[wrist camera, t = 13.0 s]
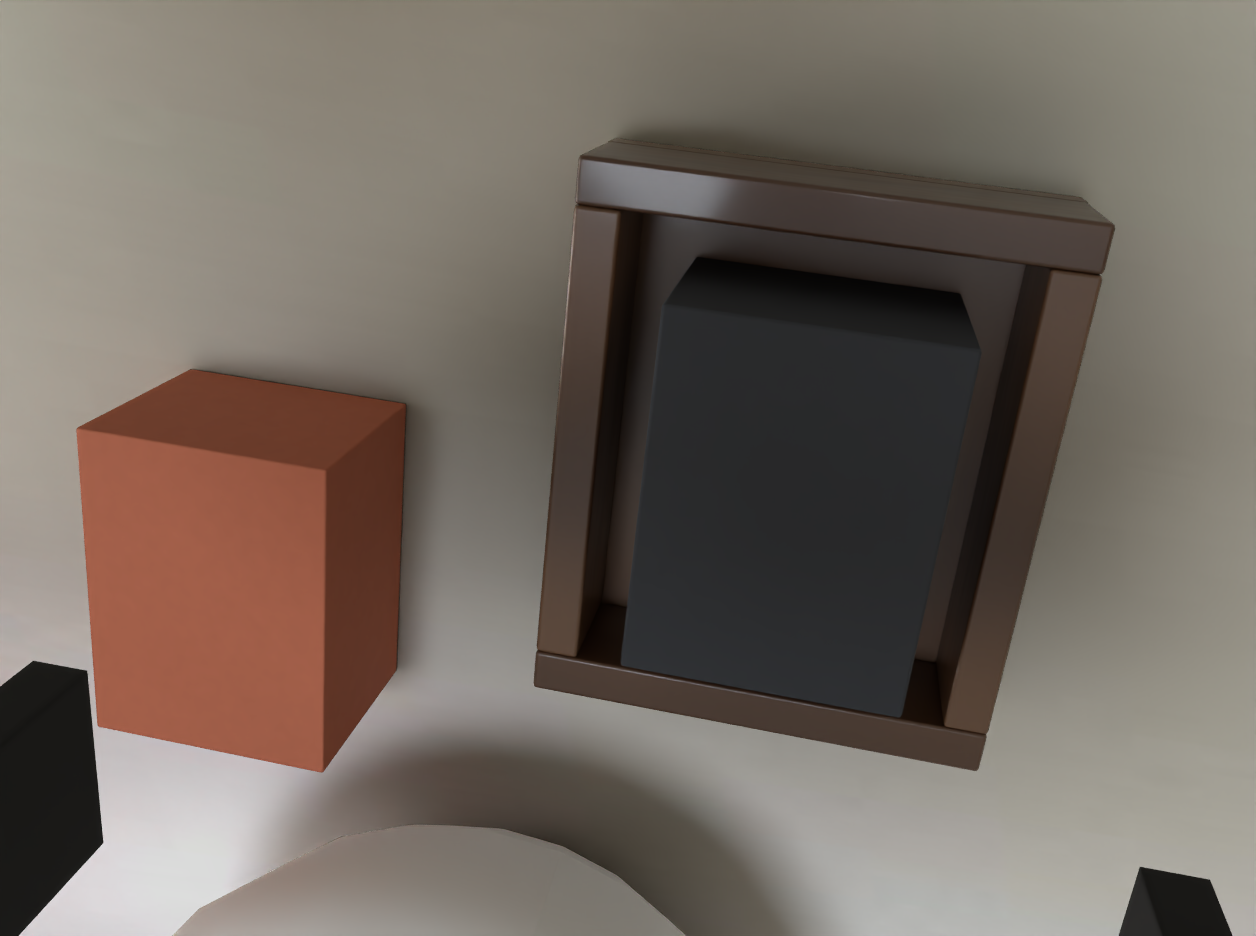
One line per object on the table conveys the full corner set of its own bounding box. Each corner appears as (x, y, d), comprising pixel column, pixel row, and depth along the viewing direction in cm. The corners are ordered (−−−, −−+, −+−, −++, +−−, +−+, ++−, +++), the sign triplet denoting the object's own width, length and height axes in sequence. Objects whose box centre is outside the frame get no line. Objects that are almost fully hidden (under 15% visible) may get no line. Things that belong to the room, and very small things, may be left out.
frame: (614, 137, 27) (577, 154, 24) (1082, 197, 26) (1117, 224, 23) (568, 615, 32) (532, 688, 28) (965, 687, 31) (978, 773, 27)
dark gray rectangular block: (695, 255, 27) (661, 303, 23) (961, 293, 26) (983, 350, 22) (656, 568, 30) (619, 667, 26) (895, 610, 29) (901, 720, 25)
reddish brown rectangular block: (190, 368, 31) (75, 427, 27) (406, 403, 31) (325, 470, 26) (199, 632, 34) (97, 727, 30) (396, 670, 34) (323, 773, 29)
